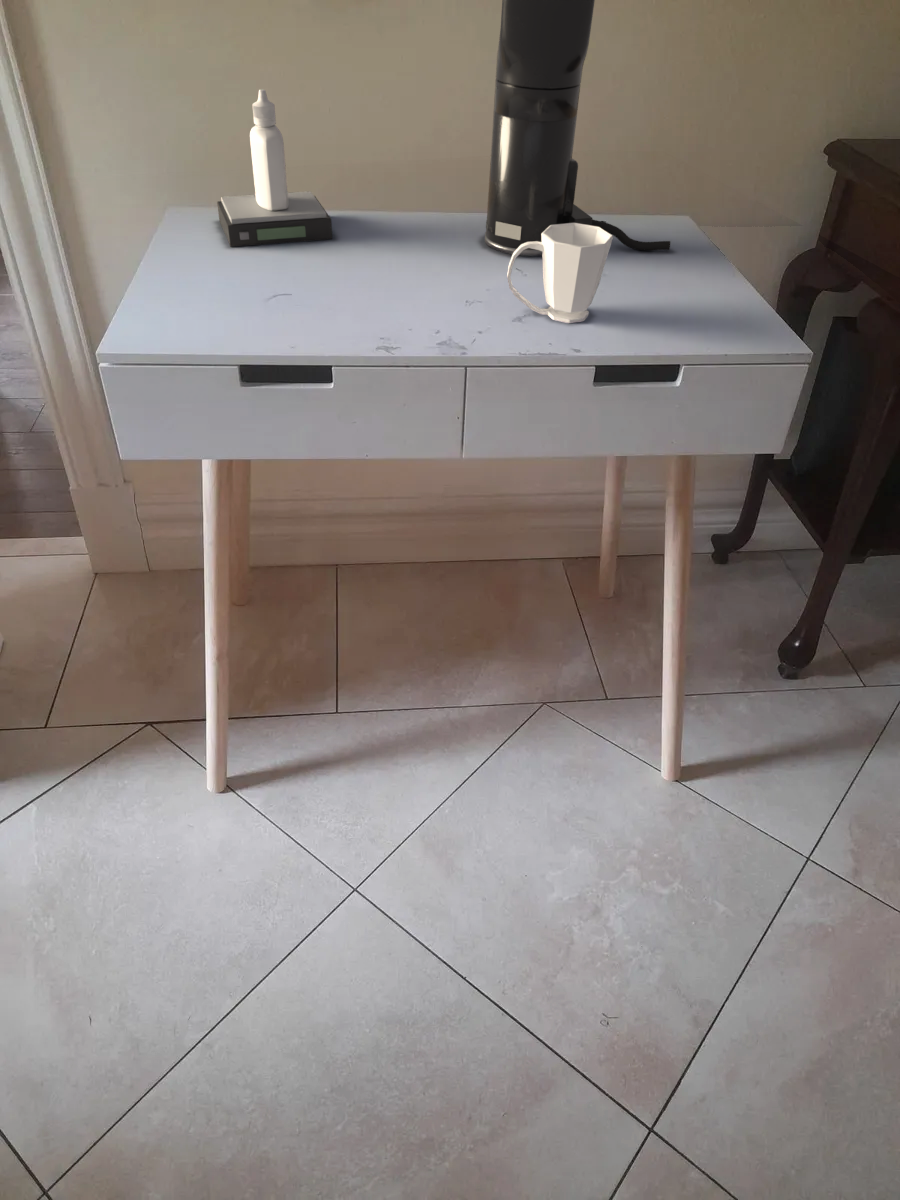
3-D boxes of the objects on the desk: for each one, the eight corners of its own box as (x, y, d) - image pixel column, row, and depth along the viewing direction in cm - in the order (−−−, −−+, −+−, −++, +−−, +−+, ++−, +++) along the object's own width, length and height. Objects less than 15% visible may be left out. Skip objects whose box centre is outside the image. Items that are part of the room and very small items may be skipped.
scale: (315, 215, 112) (314, 190, 110) (332, 240, 105) (331, 213, 103) (219, 221, 109) (216, 195, 107) (230, 247, 102) (227, 221, 100)
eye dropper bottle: (294, 198, 107) (286, 85, 99) (286, 212, 103) (277, 96, 95) (258, 196, 107) (247, 83, 99) (249, 211, 103) (236, 94, 95)
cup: (605, 330, 89) (618, 248, 84) (505, 326, 89) (512, 244, 83) (597, 302, 94) (608, 223, 89) (503, 298, 94) (509, 219, 89)
